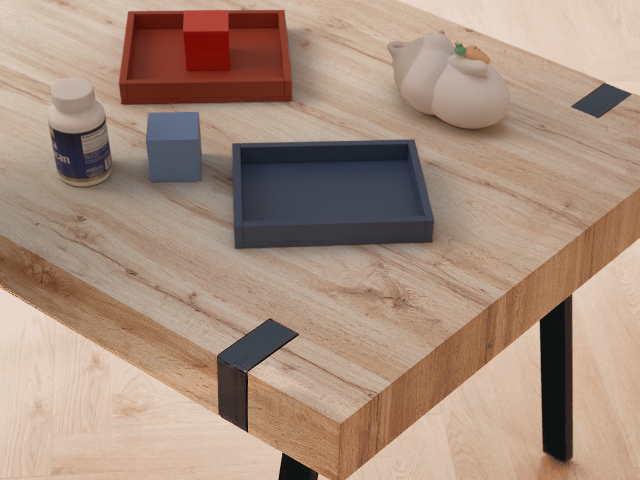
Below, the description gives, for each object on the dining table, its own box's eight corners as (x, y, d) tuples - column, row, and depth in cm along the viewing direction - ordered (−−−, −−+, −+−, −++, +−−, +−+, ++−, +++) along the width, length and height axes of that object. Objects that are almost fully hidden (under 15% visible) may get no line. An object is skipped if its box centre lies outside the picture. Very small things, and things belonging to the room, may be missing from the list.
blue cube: (150, 182, 107) (145, 140, 104) (152, 154, 111) (148, 112, 107) (201, 181, 108) (198, 139, 104) (201, 152, 111) (198, 111, 108)
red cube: (186, 71, 122) (183, 31, 119) (187, 49, 126) (183, 10, 122) (230, 70, 123) (228, 30, 119) (230, 48, 126) (228, 9, 123)
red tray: (121, 104, 117) (118, 83, 116) (130, 30, 130) (128, 10, 128) (291, 101, 120) (291, 80, 118) (284, 29, 132) (284, 9, 130)
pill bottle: (46, 172, 107) (30, 87, 101) (90, 150, 111) (77, 66, 104) (80, 195, 105) (65, 109, 98) (124, 172, 108) (112, 87, 102)
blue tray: (234, 248, 100) (233, 226, 98) (233, 164, 110) (232, 143, 108) (432, 242, 102) (434, 220, 100) (413, 160, 112) (414, 139, 110)
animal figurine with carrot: (525, 55, 110) (402, -1, 115) (485, 118, 109) (362, 58, 113) (527, 100, 119) (413, 46, 124) (490, 158, 118) (376, 101, 122)
